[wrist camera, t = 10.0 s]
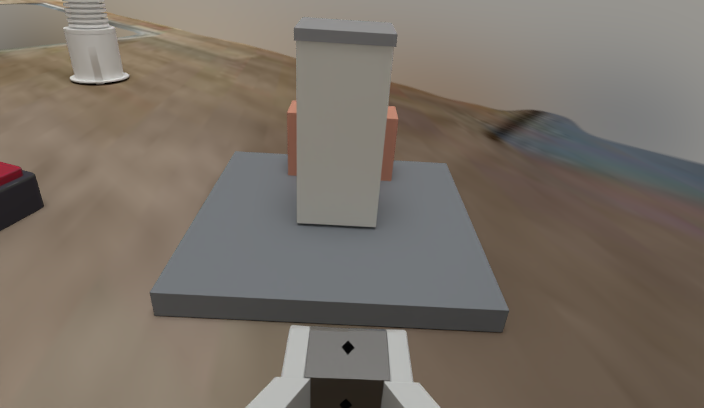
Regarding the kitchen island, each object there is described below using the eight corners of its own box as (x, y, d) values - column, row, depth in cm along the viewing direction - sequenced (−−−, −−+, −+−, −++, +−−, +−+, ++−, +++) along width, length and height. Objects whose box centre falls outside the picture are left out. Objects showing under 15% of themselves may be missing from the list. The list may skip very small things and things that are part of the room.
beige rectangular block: (374, 196, 32) (391, 22, 26) (377, 228, 28) (397, 34, 22) (302, 192, 32) (302, 17, 26) (294, 223, 28) (293, 27, 22)
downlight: (130, 84, 58) (114, 0, 54) (68, 87, 55) (46, -1, 51) (128, 72, 65) (114, -3, 60) (72, 75, 62) (53, -4, 57)
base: (443, 179, 39) (456, 106, 36) (502, 332, 23) (534, 227, 20) (236, 167, 38) (230, 93, 35) (154, 315, 23) (131, 205, 20)
